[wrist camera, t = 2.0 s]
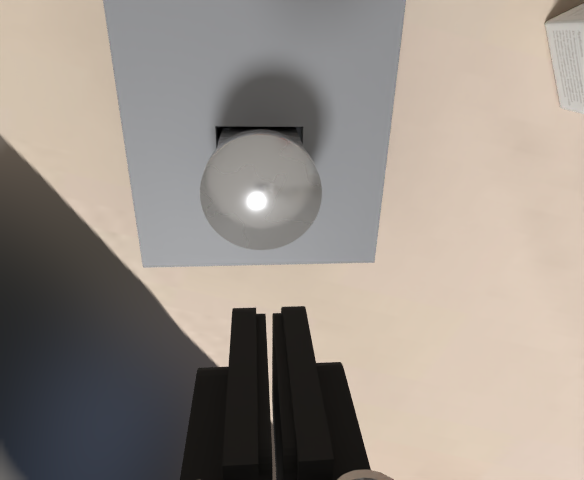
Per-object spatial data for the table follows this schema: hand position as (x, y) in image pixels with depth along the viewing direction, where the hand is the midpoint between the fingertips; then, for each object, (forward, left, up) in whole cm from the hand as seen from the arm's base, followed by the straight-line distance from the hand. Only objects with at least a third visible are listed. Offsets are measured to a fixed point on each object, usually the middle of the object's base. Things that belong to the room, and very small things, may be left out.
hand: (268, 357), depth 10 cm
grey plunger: (0, 0, -17) cm, 17 cm away
